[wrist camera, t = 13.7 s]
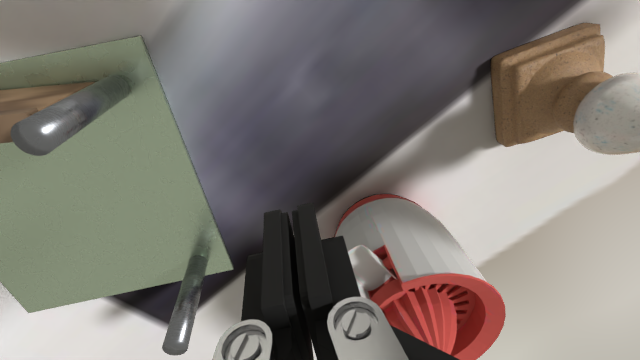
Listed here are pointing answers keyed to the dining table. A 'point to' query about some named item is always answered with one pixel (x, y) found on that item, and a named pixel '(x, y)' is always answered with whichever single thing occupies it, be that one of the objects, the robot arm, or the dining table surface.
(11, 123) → the gate
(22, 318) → the dining table surface
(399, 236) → the citrus juicer
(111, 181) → the gate frame
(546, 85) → the candle holder
